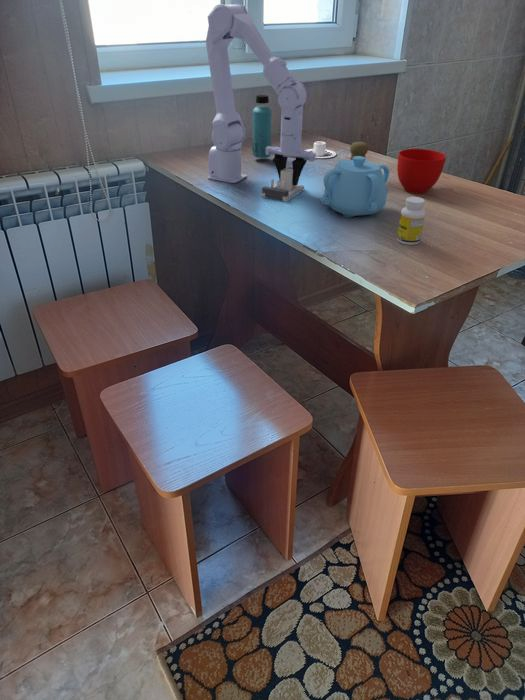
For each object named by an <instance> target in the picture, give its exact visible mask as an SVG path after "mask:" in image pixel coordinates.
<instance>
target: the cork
mask: <svg viewBox="0 0 525 700" xmlns="http://www.w3.org/2000/svg"><path fill="white" fill-rule="evenodd" d="M349 150H350V153H351V156H350V159H349V160H353V157H355V156H362V157H365V158H366V155H367V154H368V151H369V146H368V144H367V143H366V142H365V141H364V142H363V141H354V142H352V144H350V148H349Z"/></svg>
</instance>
